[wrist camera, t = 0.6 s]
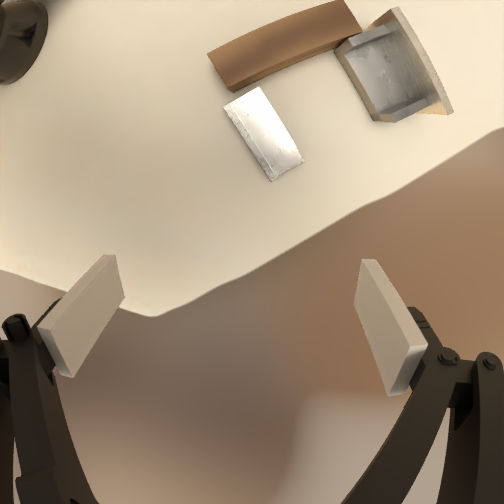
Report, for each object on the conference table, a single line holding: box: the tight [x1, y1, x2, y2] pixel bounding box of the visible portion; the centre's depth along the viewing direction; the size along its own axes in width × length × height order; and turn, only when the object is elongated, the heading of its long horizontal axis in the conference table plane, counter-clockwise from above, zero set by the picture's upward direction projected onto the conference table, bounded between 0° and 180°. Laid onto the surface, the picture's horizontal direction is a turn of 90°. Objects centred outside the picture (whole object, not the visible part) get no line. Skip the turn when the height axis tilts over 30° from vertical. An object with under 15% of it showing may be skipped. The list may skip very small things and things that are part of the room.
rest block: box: [223, 87, 305, 182], centre depth 33 cm, size 10×4×4 cm, turn 32°
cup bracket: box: [334, 7, 454, 123], centre depth 26 cm, size 12×6×10 cm, turn 32°
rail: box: [207, 0, 363, 93], centre depth 27 cm, size 4×16×6 cm, turn 118°
